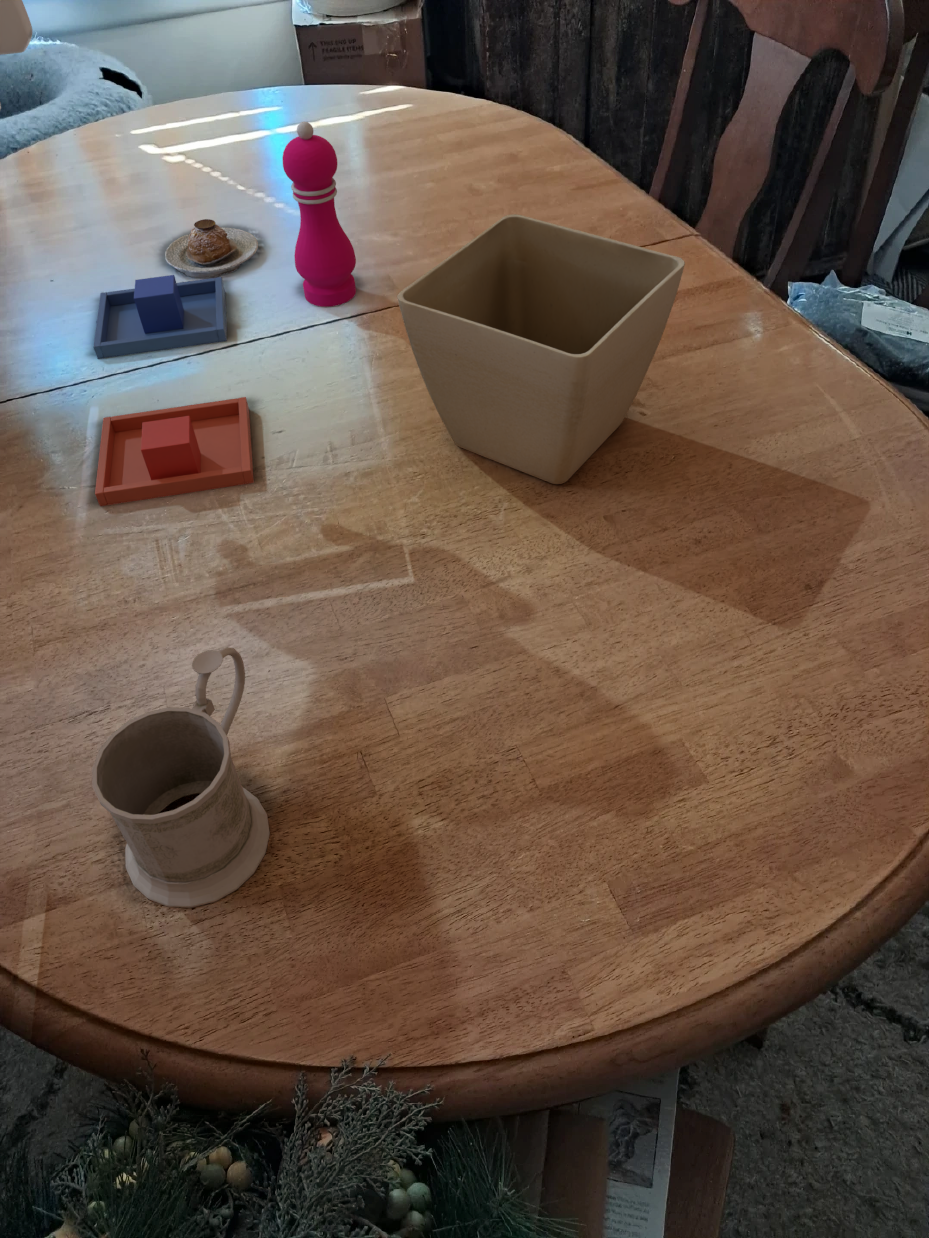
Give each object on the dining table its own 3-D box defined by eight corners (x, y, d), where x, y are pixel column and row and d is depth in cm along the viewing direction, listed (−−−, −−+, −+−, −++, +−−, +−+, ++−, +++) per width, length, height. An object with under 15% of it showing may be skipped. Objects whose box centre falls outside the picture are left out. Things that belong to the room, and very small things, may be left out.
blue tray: (98, 362, 112) (92, 347, 111) (105, 308, 121) (100, 292, 120) (227, 344, 114) (223, 329, 112) (225, 291, 122) (221, 276, 121)
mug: (222, 927, 64) (174, 828, 55) (97, 879, 67) (33, 778, 58) (323, 755, 73) (296, 647, 65) (210, 720, 76) (169, 611, 67)
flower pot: (670, 414, 100) (690, 256, 88) (576, 520, 90) (584, 357, 78) (511, 363, 108) (509, 211, 96) (408, 454, 98) (391, 297, 86)
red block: (153, 487, 95) (140, 450, 92) (155, 460, 98) (142, 422, 95) (200, 480, 96) (189, 442, 92) (200, 453, 99) (189, 415, 96)
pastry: (150, 258, 129) (140, 224, 126) (228, 227, 135) (220, 193, 131) (197, 289, 123) (188, 254, 120) (277, 256, 128) (270, 221, 125)
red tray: (101, 510, 94) (94, 493, 93) (109, 433, 103) (102, 417, 101) (254, 486, 96) (250, 470, 94) (249, 412, 104) (245, 396, 103)
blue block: (144, 334, 115) (133, 298, 112) (145, 314, 118) (135, 279, 115) (183, 328, 116) (173, 293, 112) (183, 309, 119) (174, 274, 115)
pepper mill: (292, 290, 122) (260, 119, 107) (346, 274, 124) (322, 104, 109) (313, 315, 117) (283, 140, 103) (369, 299, 119) (347, 125, 105)
